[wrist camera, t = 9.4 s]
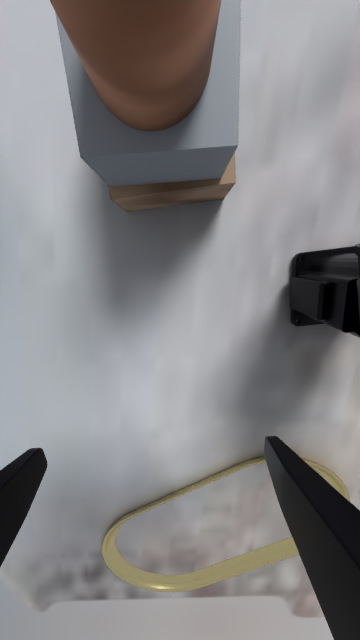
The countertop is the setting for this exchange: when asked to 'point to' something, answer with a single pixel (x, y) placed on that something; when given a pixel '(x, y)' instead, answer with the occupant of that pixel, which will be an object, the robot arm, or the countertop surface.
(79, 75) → the tower top
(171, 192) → the tower base
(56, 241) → the countertop surface
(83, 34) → the tan dome knob
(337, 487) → the yellow oval loop
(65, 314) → the countertop surface
